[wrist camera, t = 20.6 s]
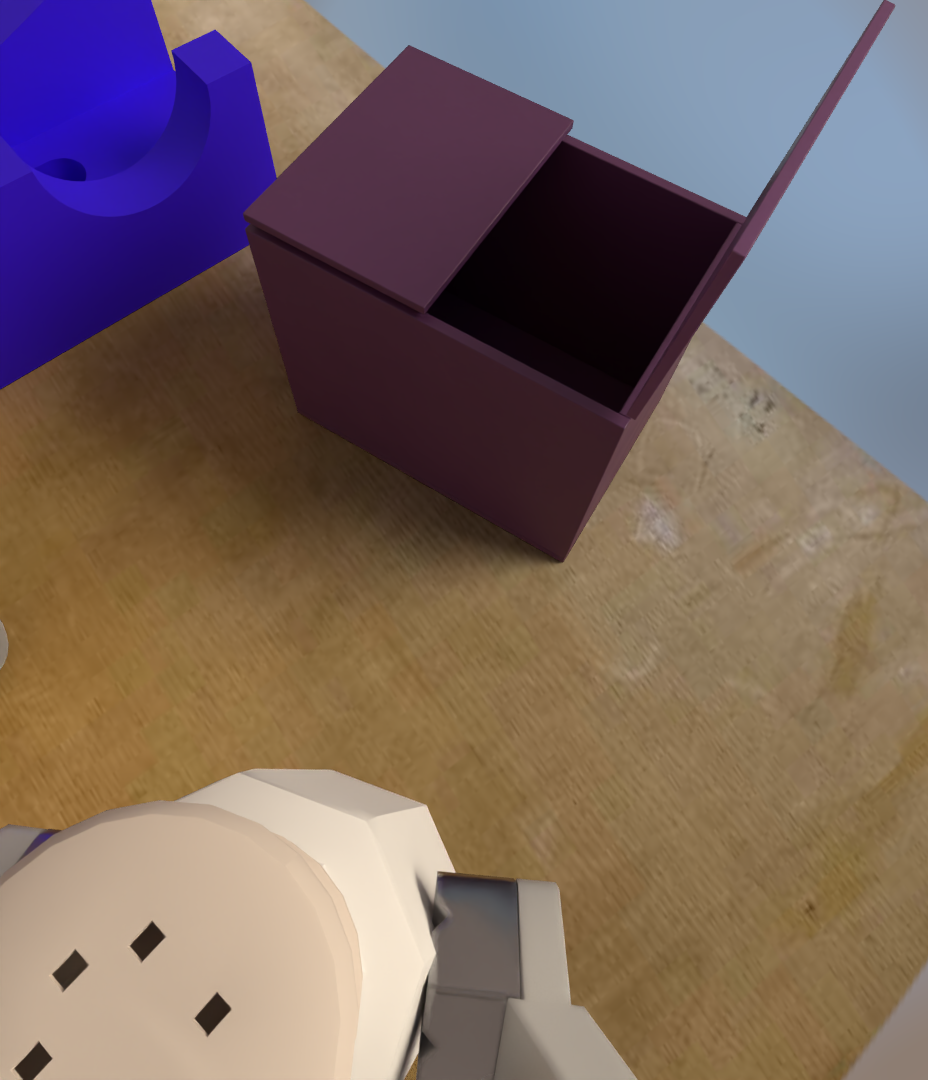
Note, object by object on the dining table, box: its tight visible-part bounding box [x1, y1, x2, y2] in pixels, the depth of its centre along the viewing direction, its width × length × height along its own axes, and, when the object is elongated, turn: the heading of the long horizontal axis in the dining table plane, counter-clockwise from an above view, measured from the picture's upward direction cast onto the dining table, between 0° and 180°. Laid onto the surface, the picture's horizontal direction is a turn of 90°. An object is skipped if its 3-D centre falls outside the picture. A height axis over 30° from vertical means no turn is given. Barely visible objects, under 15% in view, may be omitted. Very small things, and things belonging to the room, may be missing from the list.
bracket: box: [0, 0, 277, 389], centre depth 42 cm, size 21×14×10 cm, turn 131°
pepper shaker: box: [0, 769, 456, 1080], centre depth 10 cm, size 5×5×11 cm
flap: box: [626, 0, 895, 420], centre depth 25 cm, size 8×12×1 cm
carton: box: [243, 45, 747, 563], centre depth 37 cm, size 17×12×14 cm
